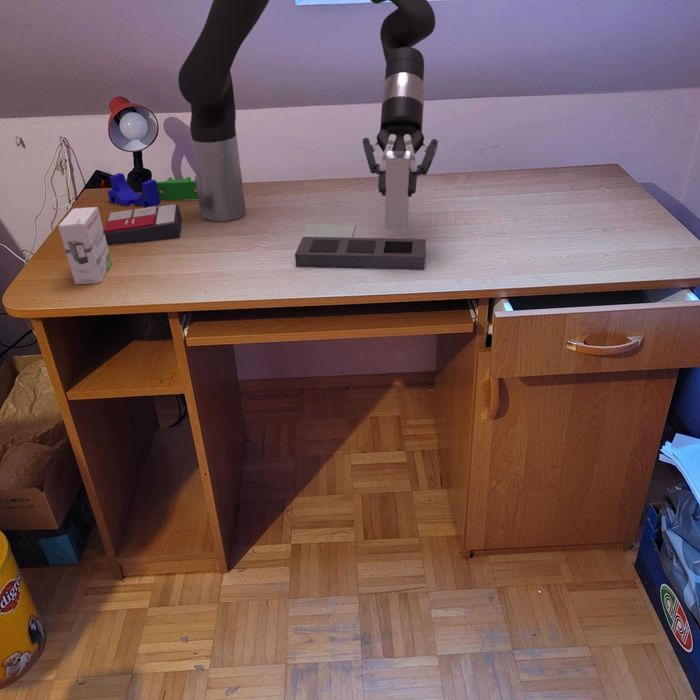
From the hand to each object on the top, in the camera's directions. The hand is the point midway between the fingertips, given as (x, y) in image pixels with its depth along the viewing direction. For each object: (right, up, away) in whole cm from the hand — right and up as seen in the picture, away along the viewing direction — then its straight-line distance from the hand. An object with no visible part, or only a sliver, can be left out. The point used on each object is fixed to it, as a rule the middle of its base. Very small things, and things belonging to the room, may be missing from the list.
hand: (396, 194), depth 118 cm
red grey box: (-52, -3, +25) cm, 58 cm away
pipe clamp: (-48, +8, +42) cm, 64 cm away
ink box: (-57, -13, +9) cm, 59 cm away
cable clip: (-59, +7, +39) cm, 71 cm away
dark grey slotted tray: (-6, -10, +10) cm, 15 cm away
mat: (-13, -4, +19) cm, 23 cm away
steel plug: (0, -4, +5) cm, 7 cm away
